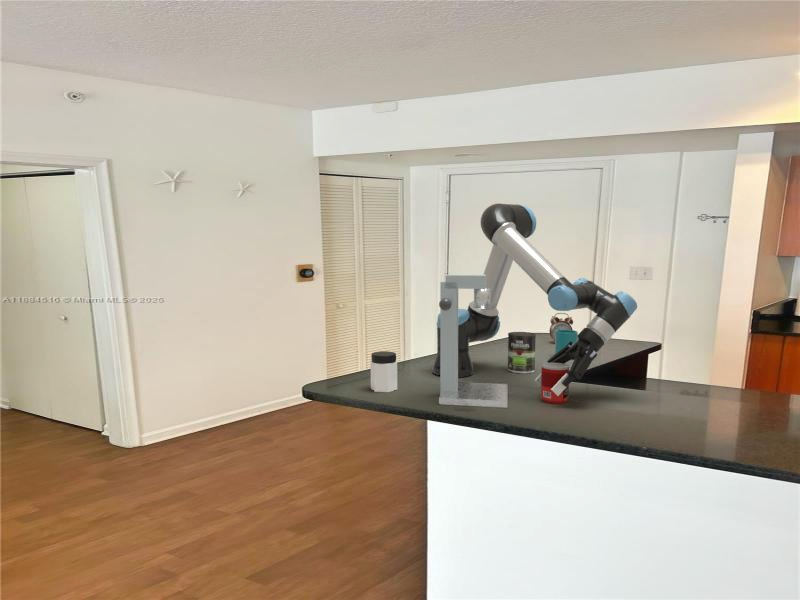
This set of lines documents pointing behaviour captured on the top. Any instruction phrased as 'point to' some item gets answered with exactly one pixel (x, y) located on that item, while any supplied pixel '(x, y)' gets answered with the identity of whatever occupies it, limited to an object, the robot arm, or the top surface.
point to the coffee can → (521, 352)
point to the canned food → (553, 382)
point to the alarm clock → (560, 324)
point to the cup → (564, 338)
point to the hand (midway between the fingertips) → (545, 387)
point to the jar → (383, 371)
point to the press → (449, 384)
